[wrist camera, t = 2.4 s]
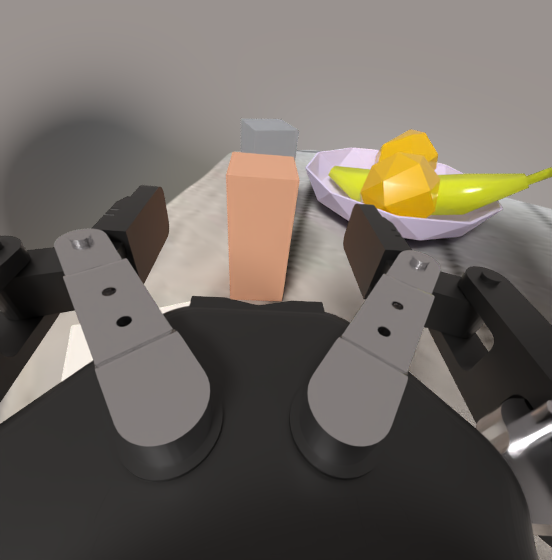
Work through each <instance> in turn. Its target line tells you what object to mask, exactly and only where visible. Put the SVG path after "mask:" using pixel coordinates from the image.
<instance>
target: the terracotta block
mask: <svg viewBox="0 0 552 560" xmlns="http://www.w3.org/2000/svg"><path fill="white" fill-rule="evenodd" d="M226 184H227V214H228V243H229V273H230V299H235V300H262V301H282V297H283V290H284V283H285V276H286V269H287V263H288V256H289V249H290V242H291V235H292V228H293V221H294V214H295V208H296V201H297V194H298V187H299V177H298V173H297V168H296V164H295V160H294V157H290V156H278V155H266V154H253V153H241V152H232V156H231V160H230V163H229V167H228V170H227V174H226Z"/></svg>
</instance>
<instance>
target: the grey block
mask: <svg viewBox="0 0 552 560" xmlns="http://www.w3.org/2000/svg"><path fill="white" fill-rule="evenodd" d="M298 134H299V130H298V129H296V128H294V127H293V126H291V125H290V124H288V123H286V122H285V121H283V120H282V119H241V153H253V154H266V155H278V156H290V157H294V160H295V157H296V148H297V141H298Z"/></svg>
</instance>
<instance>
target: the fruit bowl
mask: <svg viewBox="0 0 552 560" xmlns="http://www.w3.org/2000/svg"><path fill="white" fill-rule="evenodd" d="M437 158H438V154H437V152H436V150H435V148H434V147H433V145H432V143H431V142H430V140H429V139H428V137H427V135H426V133H424V132H419V131H415V130H409V131H407V132H405V133H403V134H401V135H400V136H398V137H396V138H394V139H392V140H391V141H389V142H387V143H385V144H384V145H383V146H382V147H381V149H380V150H374V149H364V148H354V147H352V148H345V149H337V150H330V151H323V152H317V154H316V155H315V156H314V157H313V159H312V160H311V161H310V162H309V164H308V165H307V166H306V167H305V169H306V171H307V174H308V176H309V179H310V182H311V184H312V187H313V190H314V192H315V195H316V197H317V200H318V201H319V202H321V203H322V204H324V205H325V206H327V207H328V208H330V209H331V210H333V211H334V212H336V213H337V214H339V215H340V216H342V217H343V218H345V219H346V220H348V221H349V219H350V216H351V212H352V209H353V207H354V205H355V204H356V203H358V204H370V205H374V206H375V207H376V208H377V210H378V211H379V213H380V214H381V216H382V217H385V218H386V219H387V220H389V221H390V222H392V223H393V224H394V226H395V227H396V228H397V230H398V231H399V233H400V234H401V235H402V236H401V237H403V238H407V239H414V240H429V239H439V238H449V237H460V236H462V235H464V234H466V233H467V232H469V231H470V230H472V229H473V228H475V227H476V226H478V225H479V224H481V223H483V222H484V221H486V220H487V219H489V218H490V217H492V216H493V215H495V214H496V213H498V212H499V211H501V210H503V207H502V206H501V204H500V203H499V201H498V200H500V199H503V198H505V197H507V196H510V195H512V194H515V193H517V192H520V191H522V190H524V189H527V188H529V185H530V184H533V183H536V182H539V181H542V180H544V179H547V178H550V177H552V168H551V167H550V168H548V169H545V170H542V171H539V172H537V173H534V174H531V175H529V176H526V175H525V174H464V173H462V172H459V171H458V170H455V169H454V168H452V167H449V166H448V165H445V164H441V163H437Z"/></svg>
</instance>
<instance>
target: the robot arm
mask: <svg viewBox="0 0 552 560" xmlns="http://www.w3.org/2000/svg"><path fill="white" fill-rule="evenodd" d="M168 234H169V221H168V215H167V209H166V203H165V198H164V193H163V190H162V188H161V187H157V186H144V185H141V186H139V188H138V189H137V190H136V191H135V192H134V193H133V194H132V195H131V196H130V197H128V196H127V197H125V198H123V199H121V200H119V201H117V202H116V203H115V204H114V205H113V206H112V207H111V208H110V209H109V210H108V211H107V212H106V214H105V215H103V217H102V218H101V219H100V220H99V221H98V222H97V223H96V224H95V225H94V226H93V227H92V228H91V229H79V230H74V231H71V232H68V233H66V234H64V235H62V236H60V237H59V238H58V239H57V240H56V241H55V243H54V247H53V248H44V249H35V250H26V248H25V247H24V245H23V243H22V242H21V240H20V239H18V238H16V237H13V236H0V402H1V401H2V399H3V398H4V396H5V395H6V393H7V392H8V390H9V389H10V387H11V386H12V384H13V383H14V381H15V380H16V378H17V377H18V375H19V374H20V372H21V371H22V369H23V368H24V366H25V365H26V363H27V362H28V360H29V359H30V357H31V356H32V354H33V353H34V351H35V350H36V349H37V347H38V346H39V344H40V343H41V341H42V340H43V338H44V337H45V335H46V334H47V332H48V331H49V329H50V328H51V326H52V325H53V323H54V322H55V320H56V319H57V317H58V316H59V314H60V313H63V312H68V311H74V310H75V312H76V314H77V317H78V320H79V323H80V325H81V328H82V331H83V333H84V336H85V339H86V342H87V344H88V347H89V350H90V353H91V355H92V358H93V360H92V361H91V362H89V363H88V364H87V365H85V366H84V367H82V368H81V369H79V370H78V371H76V372H75V373H73V374H72V375H71V376H69V377H68V378H66V379H65V380H63V381H62V382H60V383H59V384H58V385H56V386H55V387H53V388H52V389H50V390H49V391H47V392H46V393H44V394H43V395H42V396H40V397H39V398H37V399H36V400H34V401H33V402H31V403H30V404H28V405H27V406H26V407H24V408H23V409H21V410H20V411H18V412H17V413H15V414H14V415H12V416H11V417H10V418H8V419H7V420H5V421H4V422H2V423H1V424H0V560H539V559H538V555H537V551H536V546H535V542H534V536H533V535H538V536H539V537H540V538H541V539H542V540H544V541H545V542H546V543H547V544H548V545H550V546H551V547H552V325H551V324H550V323H549V322H548V321H547V320H546V319H545V318H544V317H543V316H542V315H541V314H540V313H539V312H538V311H537V310H536V309H535V308H534V307H533V306H532V305H531V304H530V302H529V301H528V300H527V299H526V298H525V297H524V296H523V295H522V294H521V293H520V292H519V291H518V290H517V289H516V288H515V287H514V286H513V285H512V284H511V283H510V282H509V281H508V280H507V279H506V278H505V277H503V276H502V275H500V274H498V273H497V272H495V271H492V270H490V269H487V268H483V267H476V266H474V267H469V268H468V269H467V270H466V271H465V273H464V274H463V275H462V277H460V276H456V275H452V274H448V273H444V272H441V266H440V264H439V263H438V262H437V261H436V260H435V259H434V258H432V257H431V256H429V255H427V254H424V253H422V252H418V251H413V250H412V249H411V248H410V246H409V245H408V244H407V242H406V241H405V240H404V238H403V237H401V236H402V235H401V234H400V233H399V231H398V230H397V228H396V227H395V226H394V224H393V223H392V222H390V221H389V220H387V219H386V218H385V217H382V216H381V214H380V213H379V211H378V210H377V208H376V207H375V206H374V205H370V204H358V203H356V204H355V205H354V207H353V209H352V212H351V216H350V219H349V222H348V225H347V229H346V232H345V235H344V242H343V246H344V250H345V253H346V255H347V258H348V260H349V263H350V265H351V268H352V271H353V273H354V276H355V278H356V281H357V283H358V286H359V288H360V291H361V294H362V296H363V299H366V300H365V302H364V303H363V305H362V306H361V308H360V309H359V311H358V312H357V314H356V315H355V317H354V318H353V320H352V321H351V323H349V322H348V321H346V320H344V319H342V318H340V317H338V316H336V315H333V314H330V313H327V312H324V308H323V303H322V302H306V301H287V302H280V303H273V304H266V305H254V304H250V303H245V302H241V301H237V300H233V299H229V298H223V297H202V296H192V298H191V302H190V305H189V306H185V307H180V308H176V309H173V310H170V311H168V312H165V313H163V314H162V312H161V310H160V309H159V307H158V306H157V304H156V303H155V301H154V300H153V298H152V297H151V295H150V293H149V292H148V290H147V289H146V287H145V286H144V283H145V281H146V279H147V277H148V275H149V273H150V271H151V269H152V267H153V265H154V263H155V261H156V259H157V257H158V255H159V253H160V251H161V249H162V247H163V245H164V243H165V241H166V239H167V237H168ZM484 323H485V324H486V325H487V327H488V328H489V330H490V331H491V332H492V334H493V337H494V345H493V348H492V349H491V350H490V351H489V352H488V351H487V349H486V348H485V346H484V345H483V343H482V342H481V340H480V339H479V337H478V336H477V334H476V333H475V332H476V331H477V330H478V329H479V328H480V327H481V326H482V325H483V324H484ZM424 327H426V328H428V329H429V331H430V333H431V335H432V337H433V339H434V341H435V343H436V345H437V347H438V349H439V351H440V353H441V355H442V357H443V359H444V361H445V363H446V365H447V367H448V369H449V371H450V373H451V375H452V377H453V379H454V381H455V383H456V385H457V387H458V389H459V391H460V392H461V394H462V396H463V398H464V400H465V402H466V404H467V406H468V408H469V410H470V412H471V414H472V416H473V418H474V420H475V422H476V428H475V427H473V426H472V425H471V424H470V423H469V422H468V421H466V420H465V419H464V418H463V417H462V416H460V415H459V414H458V413H457V412H456V411H455V410H453V409H452V408H451V407H450V406H449V405H447V404H446V403H445V402H444V401H443V400H442V399H440V398H439V397H438V396H437V395H436V394H434V393H433V392H432V391H431V390H430V389H429V388H427V387H426V386H425V385H424V384H423V383H421V382H420V381H419V380H418V379H417V378H416V377H414V376H413V375H412V374H411V373H410V372H408V369H409V366H410V363H411V361H412V358H413V355H414V352H415V350H416V347H417V344H418V341H419V339H420V336H421V333H422V331H423V328H424Z"/></svg>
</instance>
